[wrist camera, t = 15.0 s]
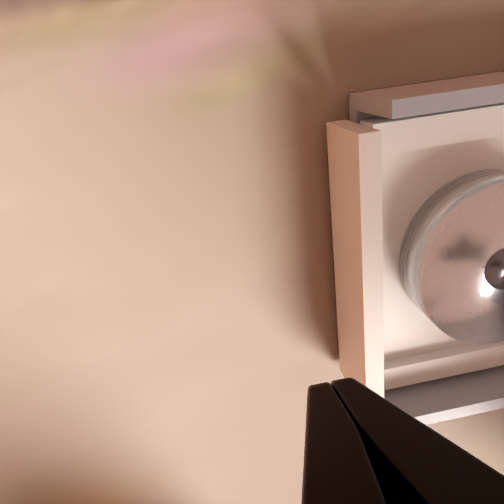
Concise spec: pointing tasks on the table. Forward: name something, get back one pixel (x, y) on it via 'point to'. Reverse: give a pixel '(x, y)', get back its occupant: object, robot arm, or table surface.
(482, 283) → the disc
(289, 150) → the table surface
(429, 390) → the housing
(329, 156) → the tray
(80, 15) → the table surface
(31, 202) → the table surface
